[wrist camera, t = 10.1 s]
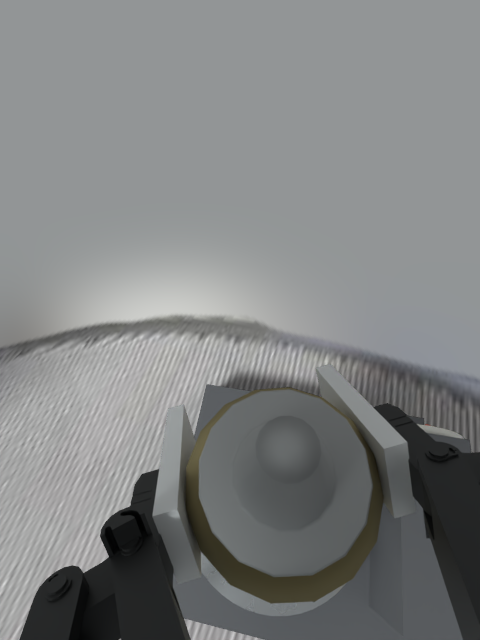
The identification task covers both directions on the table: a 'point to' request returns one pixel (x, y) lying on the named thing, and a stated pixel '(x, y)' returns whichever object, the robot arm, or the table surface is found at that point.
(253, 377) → the table surface
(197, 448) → the squeeze bottle
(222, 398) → the scale base
